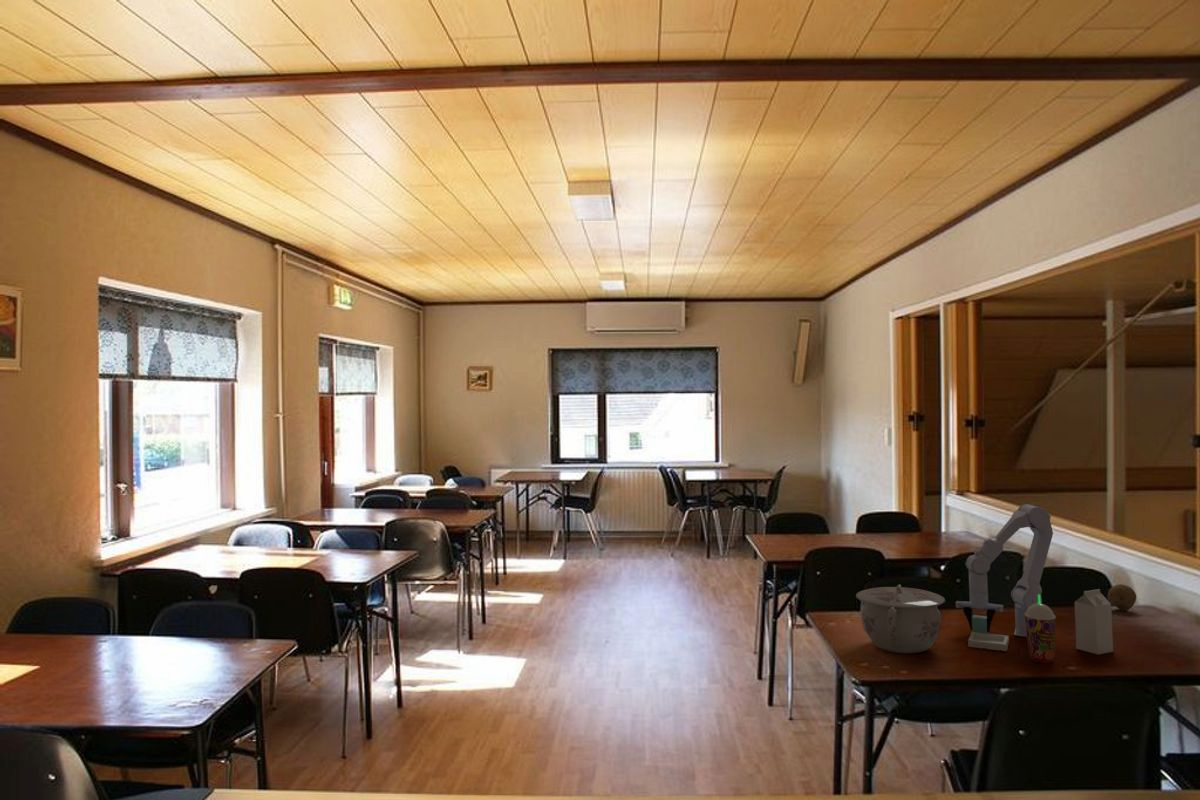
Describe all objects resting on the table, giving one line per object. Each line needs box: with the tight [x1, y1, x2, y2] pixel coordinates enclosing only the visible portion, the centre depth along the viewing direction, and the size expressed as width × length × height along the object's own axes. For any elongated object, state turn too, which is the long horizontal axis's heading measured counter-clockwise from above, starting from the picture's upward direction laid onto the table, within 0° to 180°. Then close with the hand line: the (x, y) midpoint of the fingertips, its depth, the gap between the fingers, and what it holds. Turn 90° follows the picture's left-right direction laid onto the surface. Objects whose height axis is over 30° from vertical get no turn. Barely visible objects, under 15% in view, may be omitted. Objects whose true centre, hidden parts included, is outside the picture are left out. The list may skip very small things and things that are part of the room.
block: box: [971, 614, 989, 634], centre depth 265 cm, size 4×4×6 cm
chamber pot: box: [855, 583, 946, 655], centre depth 253 cm, size 28×28×21 cm
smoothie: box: [1024, 595, 1057, 664], centre depth 236 cm, size 8×8×20 cm
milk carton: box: [1073, 588, 1114, 655], centre depth 244 cm, size 7×7×19 cm
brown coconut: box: [1107, 584, 1137, 612], centre depth 290 cm, size 9×9×10 cm
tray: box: [967, 631, 1010, 652], centre depth 253 cm, size 11×11×2 cm
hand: (980, 630), depth 265 cm, fingers closed on block, 4 cm apart
